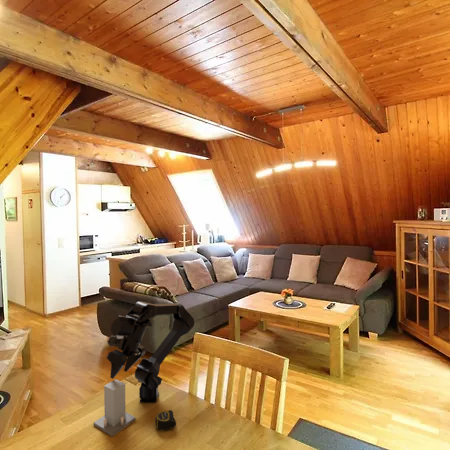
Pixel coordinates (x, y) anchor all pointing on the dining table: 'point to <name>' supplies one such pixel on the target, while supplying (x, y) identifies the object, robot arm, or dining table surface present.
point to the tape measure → (165, 420)
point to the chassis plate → (115, 429)
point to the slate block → (114, 401)
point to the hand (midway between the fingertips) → (118, 374)
